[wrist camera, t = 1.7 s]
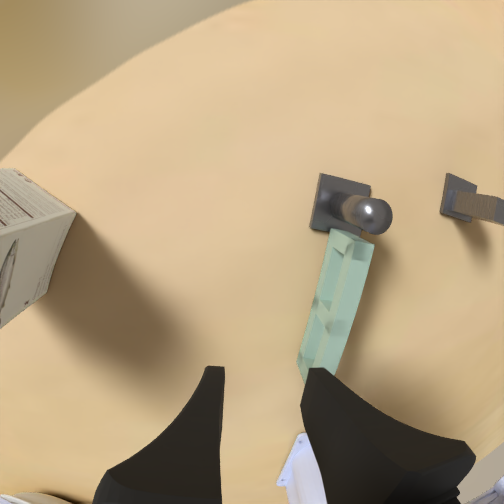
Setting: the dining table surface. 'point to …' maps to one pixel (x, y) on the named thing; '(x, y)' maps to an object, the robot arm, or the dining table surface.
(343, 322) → the gate
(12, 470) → the dining table surface
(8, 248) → the supplement box
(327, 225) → the hinge post
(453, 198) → the post
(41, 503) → the soup bowl
